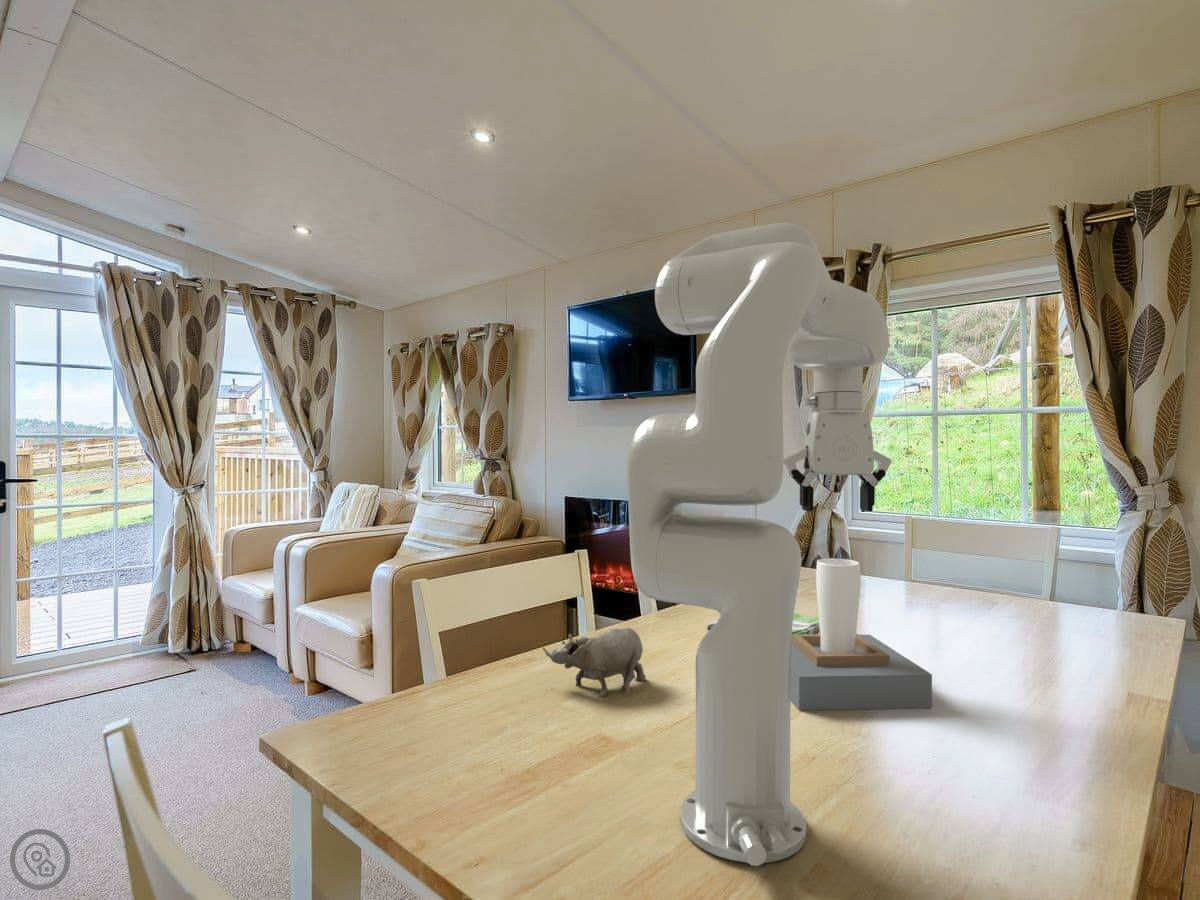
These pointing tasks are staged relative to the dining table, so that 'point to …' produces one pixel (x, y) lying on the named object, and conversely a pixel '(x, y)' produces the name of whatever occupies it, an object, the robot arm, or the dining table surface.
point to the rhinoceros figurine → (603, 657)
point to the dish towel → (796, 625)
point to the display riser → (855, 677)
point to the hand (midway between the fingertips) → (836, 510)
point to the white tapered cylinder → (838, 604)
